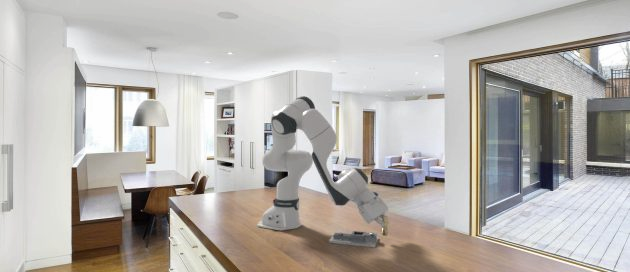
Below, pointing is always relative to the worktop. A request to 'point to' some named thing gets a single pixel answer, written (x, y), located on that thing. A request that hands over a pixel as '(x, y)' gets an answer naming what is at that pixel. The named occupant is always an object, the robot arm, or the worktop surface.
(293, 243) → the worktop surface
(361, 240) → the chain jig
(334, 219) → the worktop surface
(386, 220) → the brass pin
